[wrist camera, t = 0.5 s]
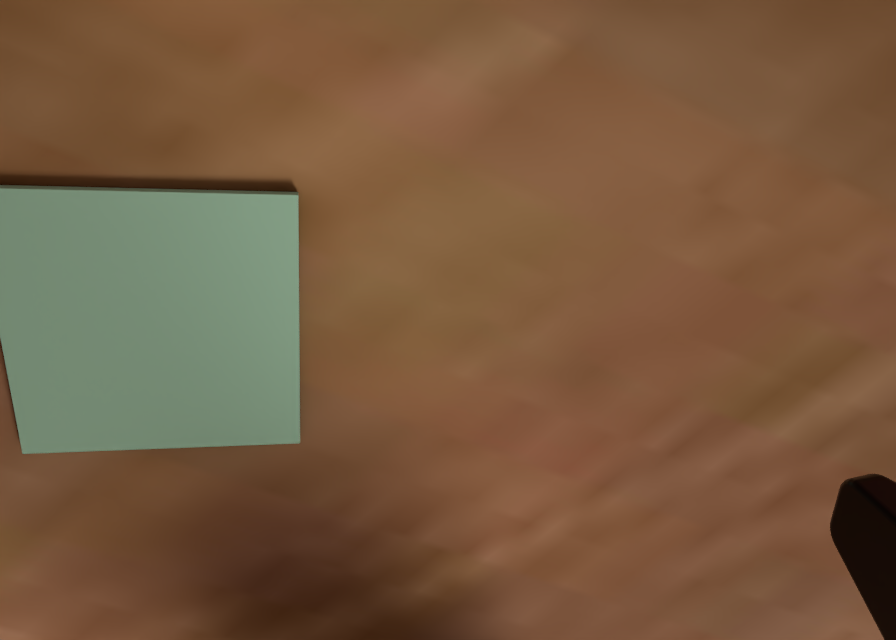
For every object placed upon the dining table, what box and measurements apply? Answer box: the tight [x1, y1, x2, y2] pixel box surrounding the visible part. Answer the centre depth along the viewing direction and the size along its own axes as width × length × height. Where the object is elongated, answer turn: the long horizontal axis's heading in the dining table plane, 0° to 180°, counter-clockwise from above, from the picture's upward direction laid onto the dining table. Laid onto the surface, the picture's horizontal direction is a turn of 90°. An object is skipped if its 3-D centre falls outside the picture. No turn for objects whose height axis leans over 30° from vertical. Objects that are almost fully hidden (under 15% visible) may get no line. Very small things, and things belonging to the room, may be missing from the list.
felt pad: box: [0, 185, 300, 454], centre depth 22 cm, size 8×8×1 cm
